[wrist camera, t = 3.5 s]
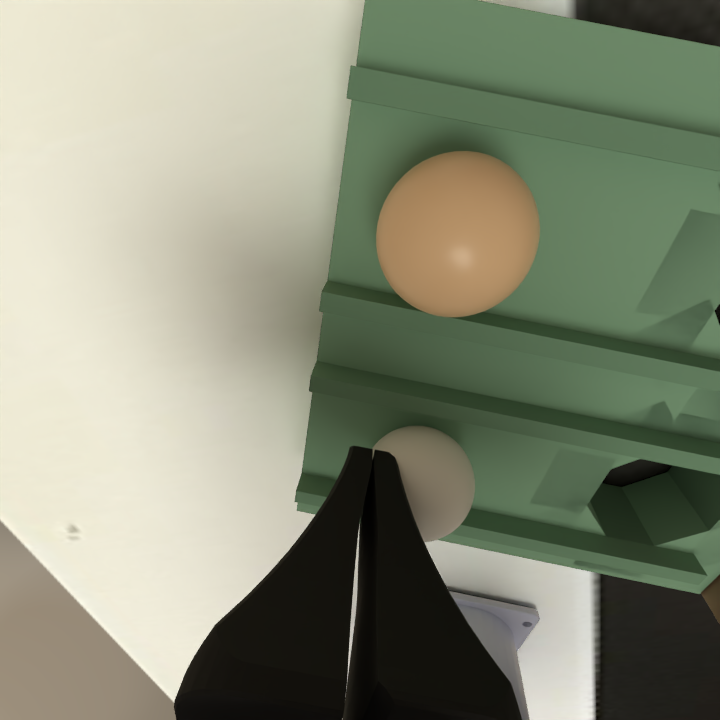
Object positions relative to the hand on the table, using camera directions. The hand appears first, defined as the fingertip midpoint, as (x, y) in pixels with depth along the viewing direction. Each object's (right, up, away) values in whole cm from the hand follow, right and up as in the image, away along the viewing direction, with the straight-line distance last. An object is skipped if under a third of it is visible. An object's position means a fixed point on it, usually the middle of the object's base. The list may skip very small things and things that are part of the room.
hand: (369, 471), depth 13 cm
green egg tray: (+7, +4, +2) cm, 9 cm away
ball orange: (+2, +6, -4) cm, 8 cm away
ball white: (+2, 0, 0) cm, 2 cm away
